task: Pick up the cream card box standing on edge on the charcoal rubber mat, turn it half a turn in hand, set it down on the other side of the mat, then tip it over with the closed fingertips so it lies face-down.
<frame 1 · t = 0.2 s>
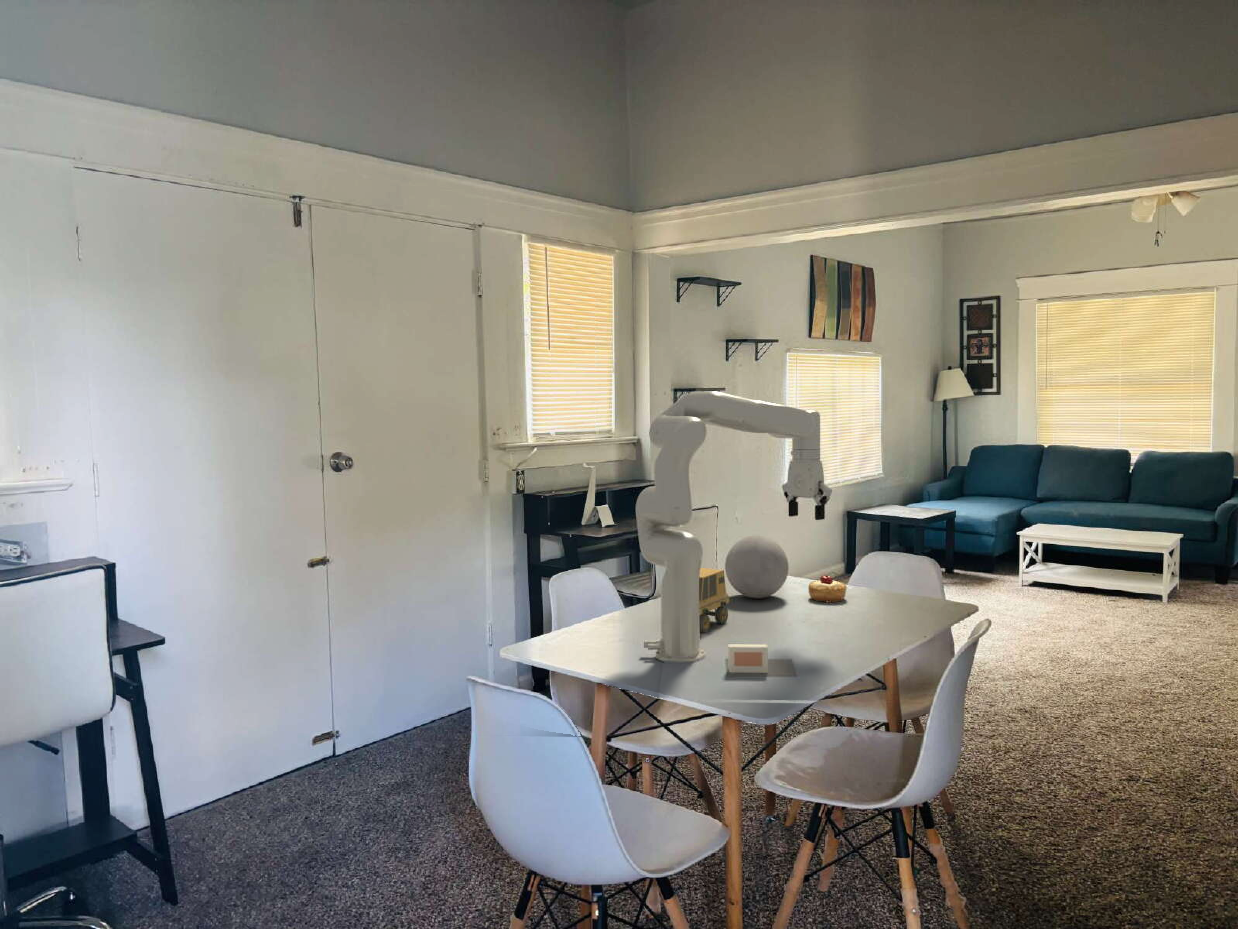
hand: (806, 517, 255), 31 cm above the table, tool pointing down, fingers open, 9 cm apart
pastry: (827, 600, 293), on the table
ball: (756, 598, 297), on the table
mat: (760, 669, 220), on the table
toy car: (700, 626, 263), on the table
card box: (748, 671, 217), point 1 cm above the table, touching mat
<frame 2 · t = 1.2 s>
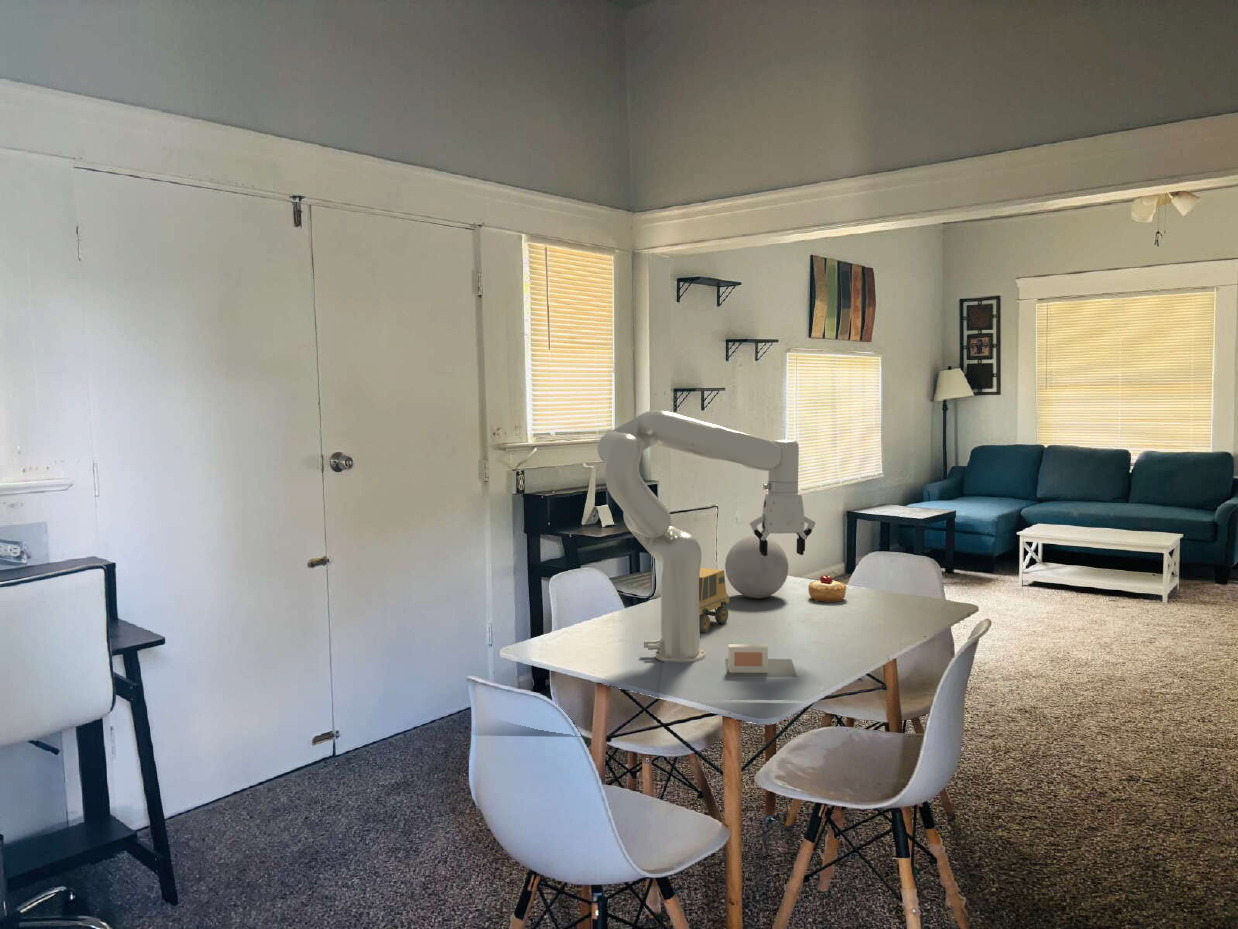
hand: (782, 554, 238), 24 cm above the table, tool pointing down, fingers open, 9 cm apart
nothing on the table moved.
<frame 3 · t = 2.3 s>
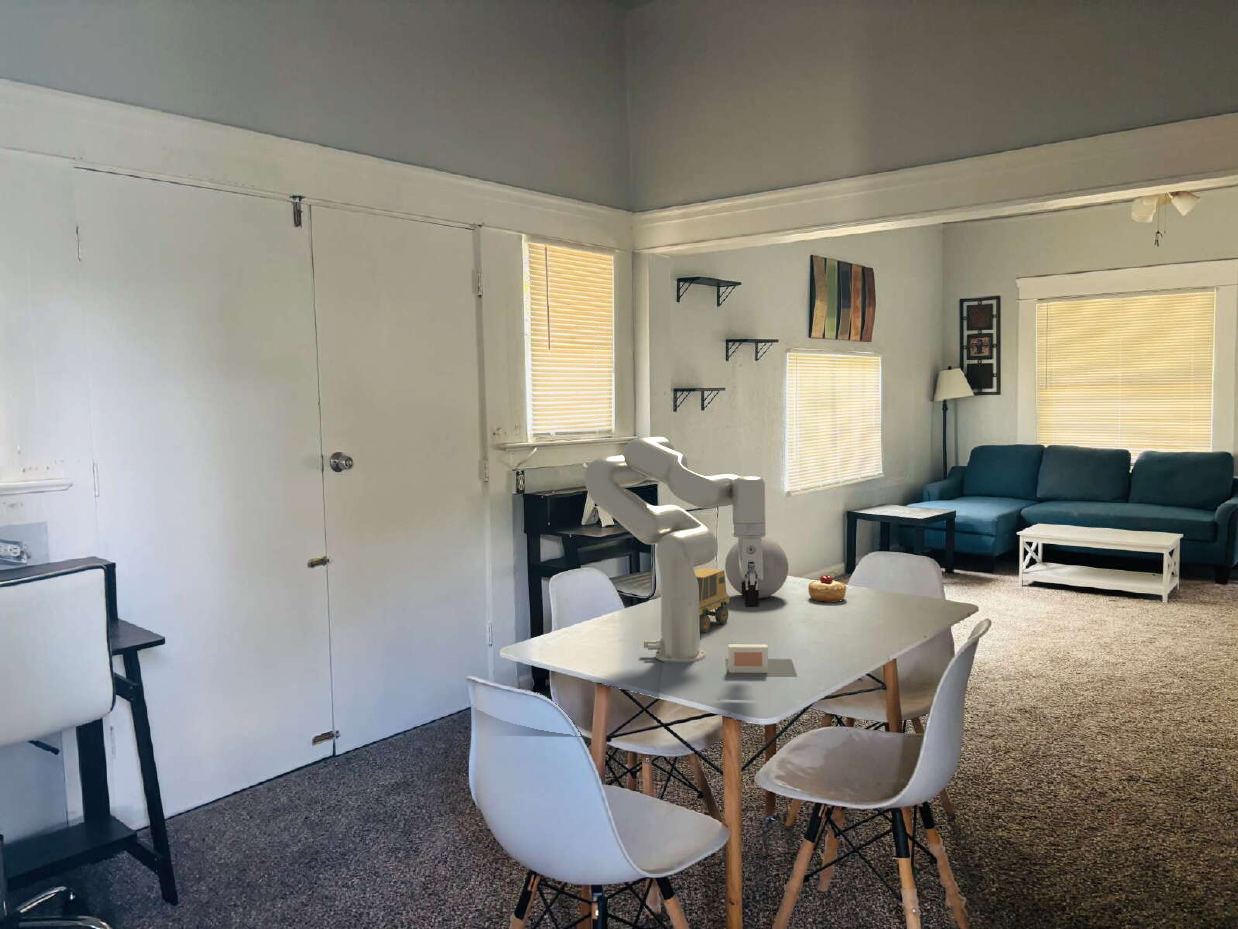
hand: (750, 602, 217), 17 cm above the table, tool pointing down, fingers open, 9 cm apart
nothing on the table moved.
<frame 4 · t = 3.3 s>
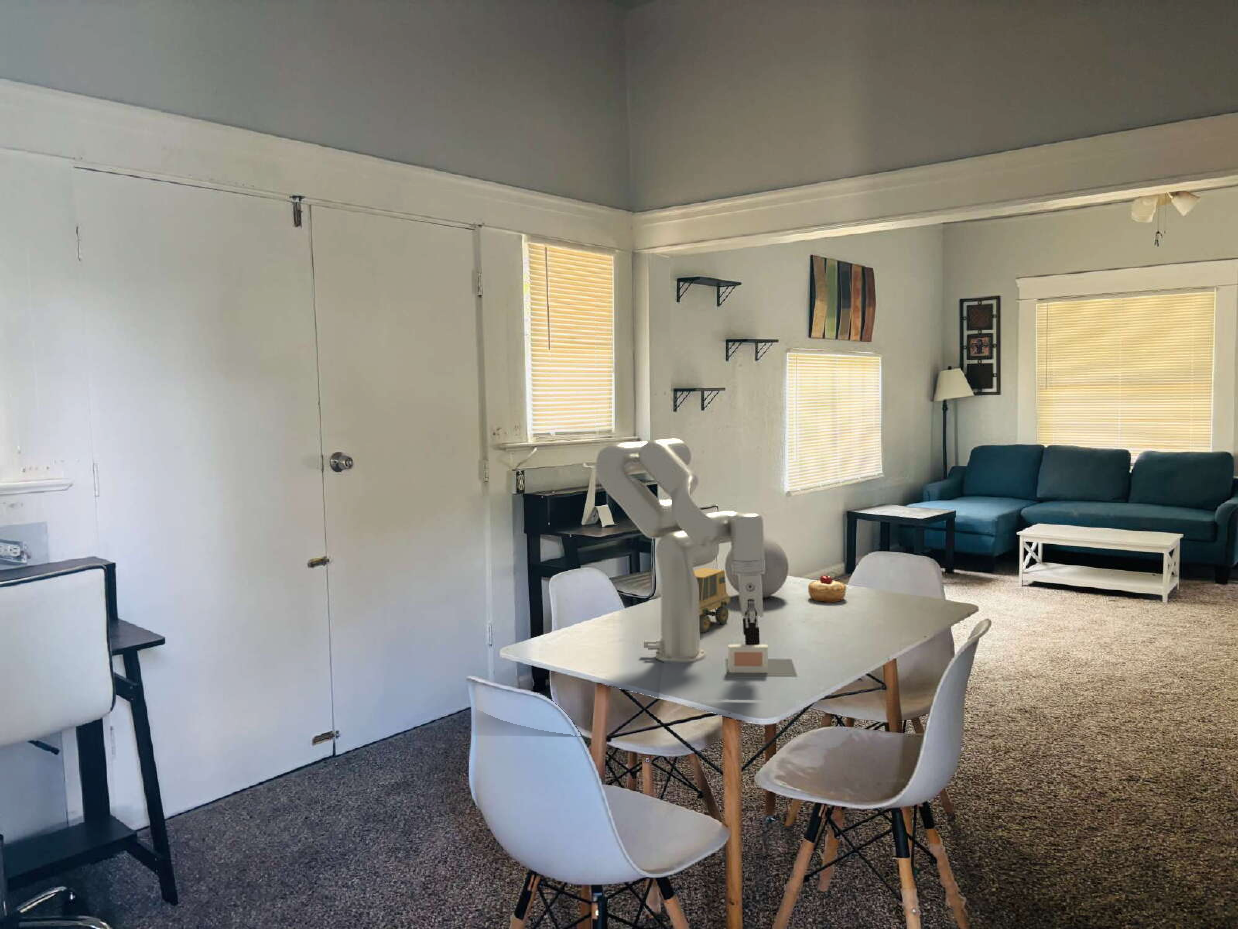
hand: (751, 639, 216), 8 cm above the table, tool pointing down, fingers open, 9 cm apart
nothing on the table moved.
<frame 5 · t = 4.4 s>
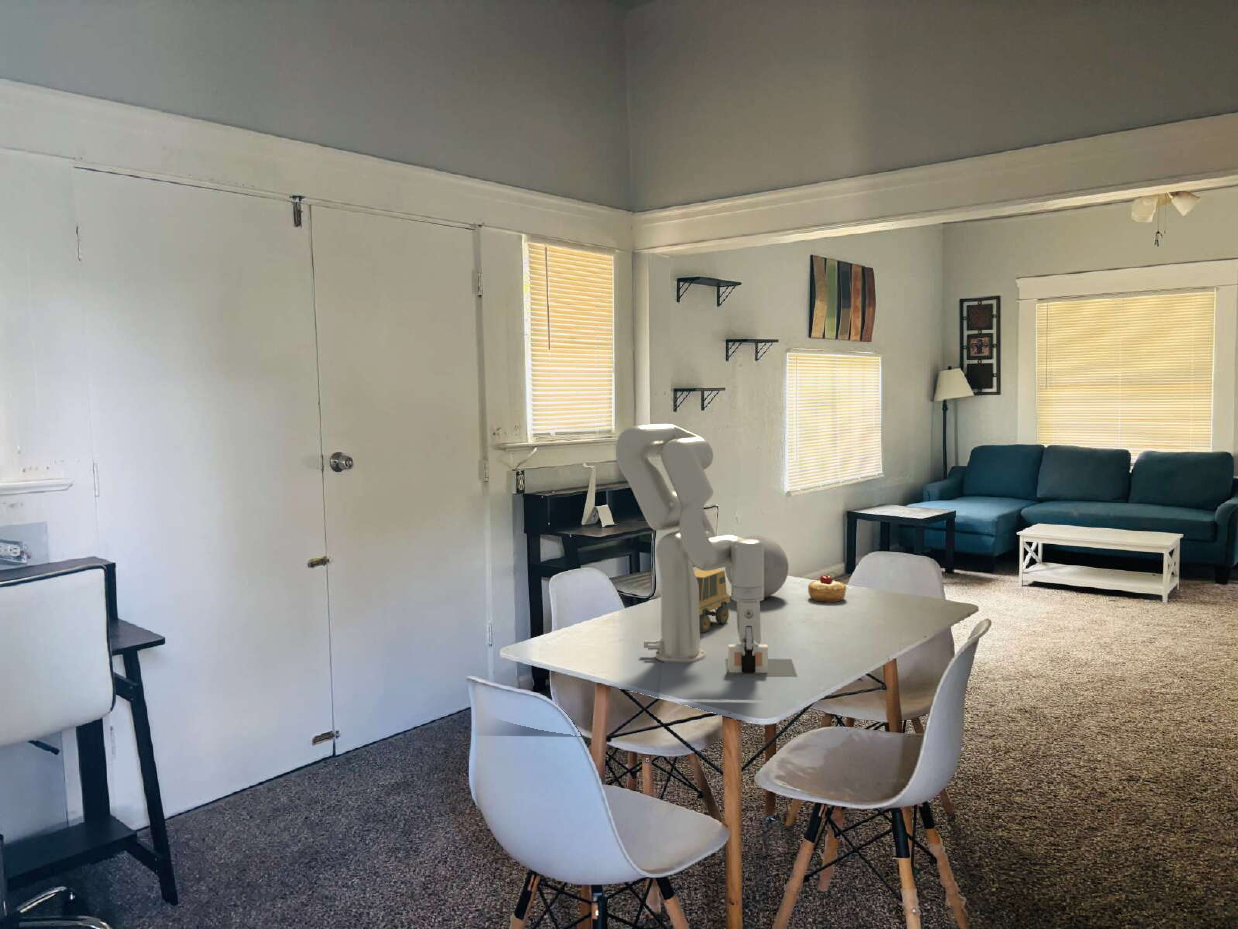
hand: (748, 669, 217), 1 cm above the table, tool pointing down, fingers closed on card box, 2 cm apart
card box: (748, 671, 217), point 1 cm above the table, touching gripper
everything else where it was.
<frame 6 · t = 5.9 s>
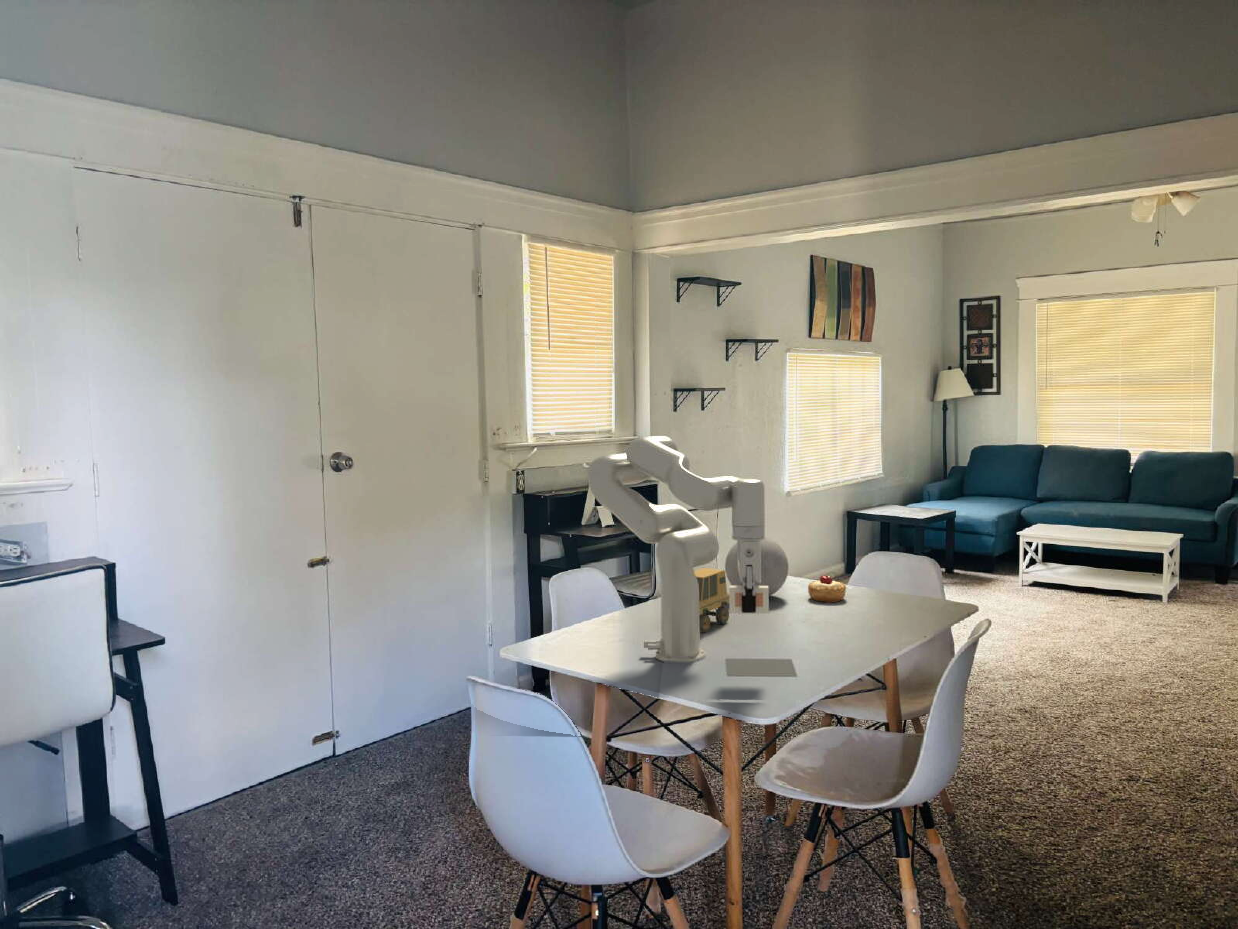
hand: (748, 610, 217), 15 cm above the table, tool pointing down, fingers closed on card box, 2 cm apart
card box: (748, 612, 217), point 15 cm above the table, touching gripper
everything else where it was.
when the fingers open (2 cm above the table, at t = 9.1 s): card box stays where it is, resting on mat.
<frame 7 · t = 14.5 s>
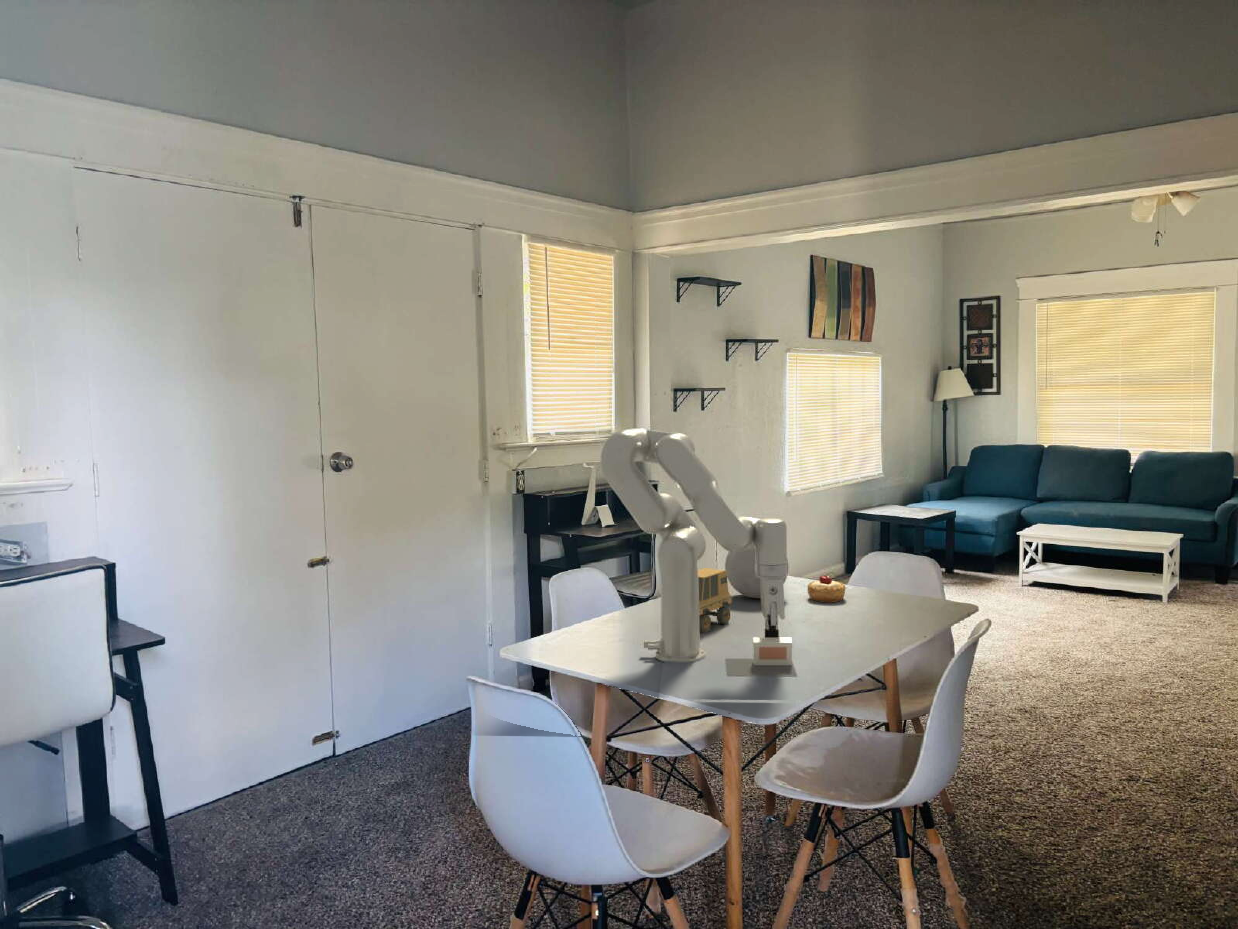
hand: (771, 645, 225), 5 cm above the table, tool pointing down, fingers closed
card box: (772, 662, 223), point 1 cm above the table, tilted 12°, touching mat
everything else where it was.
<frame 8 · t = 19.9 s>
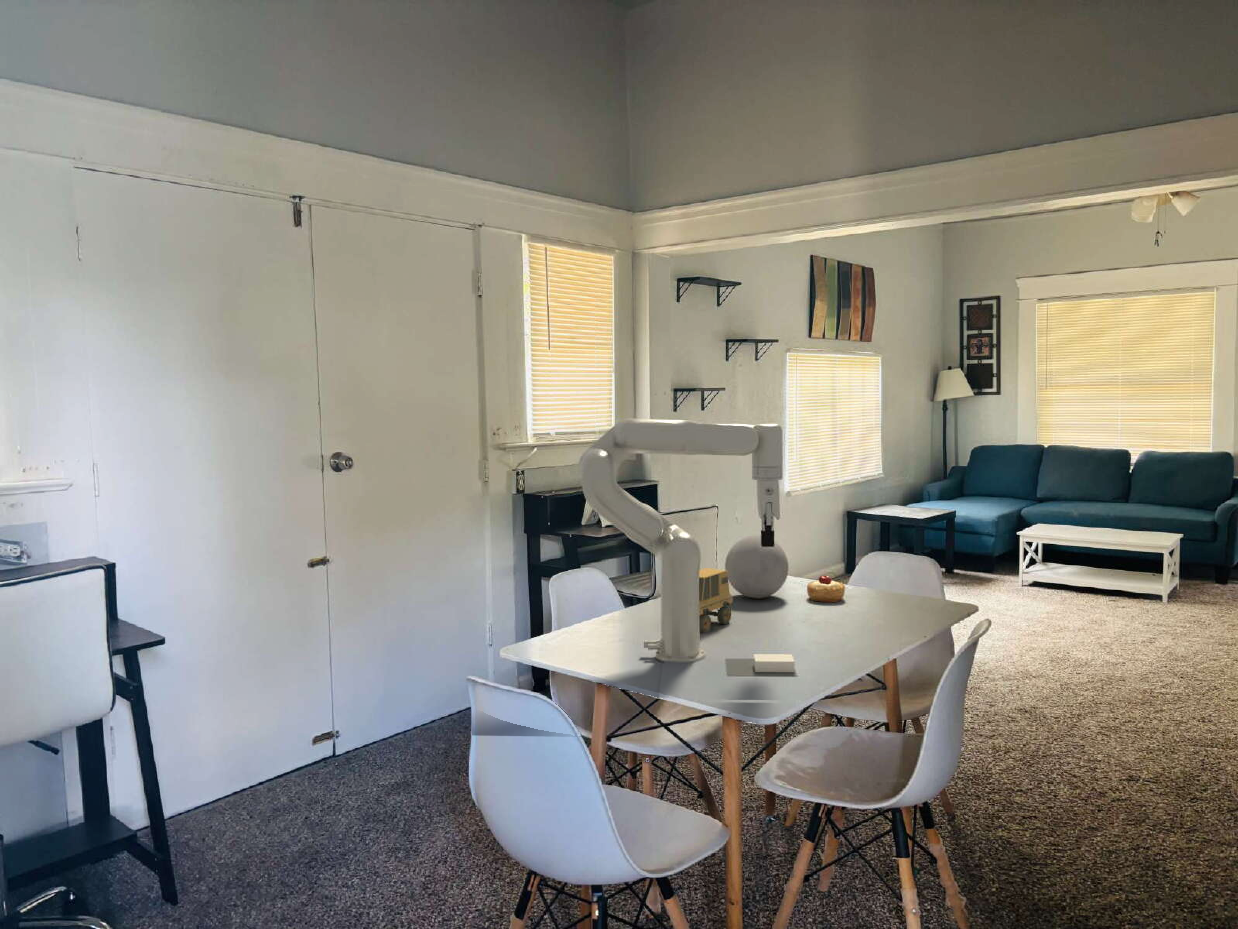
hand: (767, 546, 233), 27 cm above the table, tool pointing down, fingers closed
card box: (772, 659, 222), point 2 cm above the table, tilted 90°, touching mat
everything else where it was.
at the end: card box tilted 90°; card box inside the target area (3.6 cm from its centre), point 2.0 cm above the table; the gripper is holding nothing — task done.
